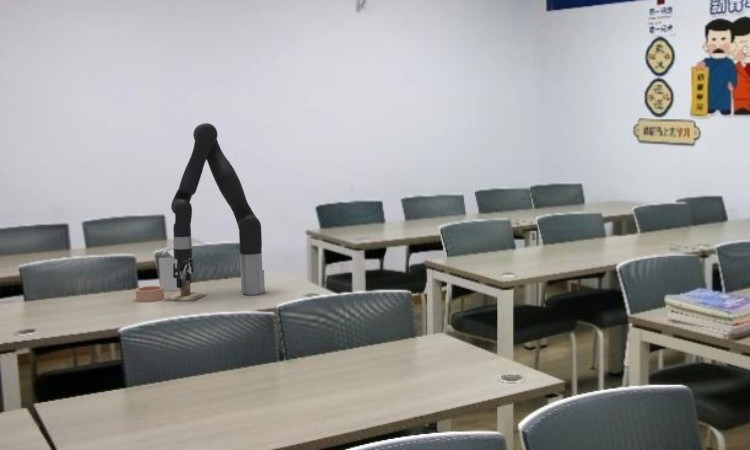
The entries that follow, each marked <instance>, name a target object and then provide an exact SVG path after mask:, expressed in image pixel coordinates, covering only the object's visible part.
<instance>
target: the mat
mask: <svg viewBox="0 0 750 450" xmlns="http://www.w3.org/2000/svg"><path fill="white" fill-rule="evenodd" d="M201 294H202V297H201V298H199V299H196V300H190V301H178V302H181V303H182V302H183V303H184V302H191V303H194V302H195V303H196V302H197V301H199V300H201V299H203V298H205V297H207V296H208V295H209V294H207V293H206V294H203V293H201ZM163 302H174V301H173V300H170V297H167V298H166V299H163Z"/></svg>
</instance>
